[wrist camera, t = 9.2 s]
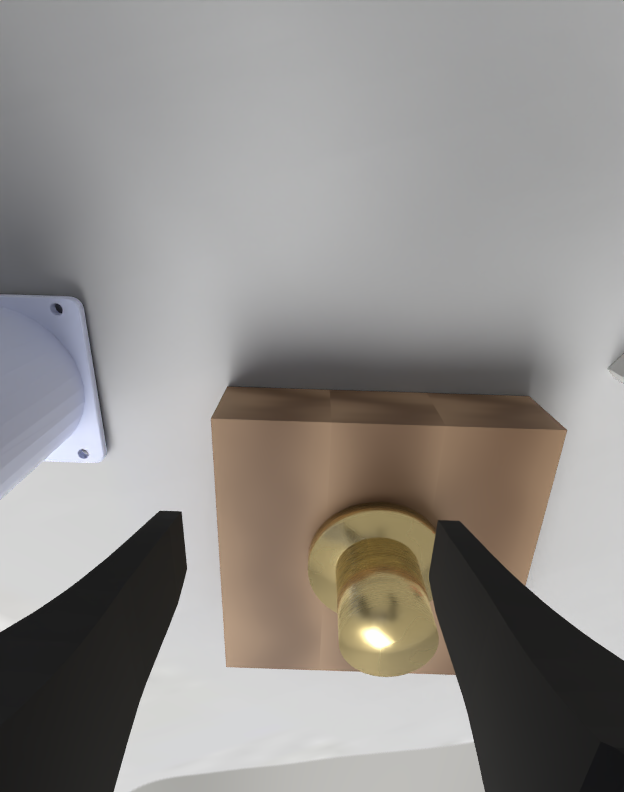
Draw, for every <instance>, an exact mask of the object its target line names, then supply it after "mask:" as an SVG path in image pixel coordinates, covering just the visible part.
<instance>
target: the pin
mask: <svg viewBox="0 0 624 792" xmlns="http://www.w3.org/2000/svg"><path fill="white" fill-rule="evenodd" d="M435 534H436V530H435V528H434V527H433V525H432V524H431V523H430V522H429V521H428V520H427V519H426V518H425V517H423V516H422V515H421V514H419V513H417V512H416V511H414V510H412V509H410V508H407V507H405V506H401V505H398V504H393V503H386V502H369V503H363V504H358V505H354V506H351V507H348V508H346V509H343V510H341V511H340V512H338V513H336V514H334V515H333V516H331V517H330V518H329V519H327V520H326V521H325V522H324V523H323V524H322V525H321V526H320V528H319V529H318V530H317V532H316V533H315V535H314V536H313V539H312V541H311V544H310V547H309V554H308V577H309V581H310V585H311V587H312V589H313V591H314V593H315V594H316V596H317V597H318V598H319V600H320V601H321V602H322V603H323V604H324V605H326V606H327V607H328V608H329V609H331V610H332V611H334V612H336V613H337V614H338V636H339V648H340V652H341V654H342V656H343V657H344V659H345V660H346V661H347V662H348V663H349V664H350V665H351V666H352V667H354V668H355V669H357V670H359V671H361V672H363V673H366V674H369V675H373V676H381V677H392V676H400V675H404V674H407V673H410V672H413V671H415V670H417V669H419V668H421V667H422V666H424V665H425V664H426V663H427V662H428V661H429V660H430V659H431V658H432V657H433V655H434V654H435V652H436V650H437V648H438V644H439V635H438V631H437V627H436V624H435V620H434V617H433V613H432V609H431V606H430V601H431V600H433V598H432V592H431V587H430V582H429V571H430V565H431V559H432V553H433V547H434V540H435Z"/></svg>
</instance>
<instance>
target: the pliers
mask: <svg viewBox="0 0 624 792" xmlns="http://www.w3.org/2000/svg"><path fill="white" fill-rule="evenodd" d="M608 370H609V372H610V373H611V375H612V376H613V378H615V379H616V380H618V381H620V382H622V383H623V384H624V354H623V355H622V356H621V357H619V358H618V359H617V360H616V361H615V362H614V363H613V364H612V365H611V366H610V367H609V368H608Z"/></svg>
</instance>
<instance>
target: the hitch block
mask: <svg viewBox="0 0 624 792" xmlns="http://www.w3.org/2000/svg"><path fill="white" fill-rule="evenodd" d="M211 428H212V444H213V460H214V476H215V493H216V509H217V525H218V541H219V557H220V574H221V590H222V606H223V622H224V639H225V655H226V667H240V668H269V669H299V670H328V671H358V672H361V671H359V670H357V669H355V668H354V667H352V666H351V665H350V664H349V663H348V662H347V661H346V660H345V659H344V657H343V656H342V654H341V652H340V648H339V636H338V614H337V613H336V612H334V611H332V610H331V609H329V608H328V607H327V606H326V605H324V604H323V603H322V602H321V601H320V600H319V598H318V597H317V596H316V594H315V593H314V591H313V589H312V587H311V585H310V581H309V577H308V554H309V547H310V544H311V541H312V539H313V536H314V535H315V533H316V532H317V530H318V529H319V528H320V526H321V525H322V524H323V523H324V522H325V521H326V520H327V519H329V518H330V517H331V516H333V515H334V514H336V513H338V512H340V511H341V510H343V509H346V508H348V507H351V506H354V505H358V504H363V503H369V502H386V503H393V504H398V505H401V506H405V507H407V508H410V509H412V510H414V511H416V512H417V513H419V514H421V515H422V516H423V517H425V518H426V519H427V520H428V521H429V522H430V523H431V524H432V525H433V527H434V528H435V530H436V528H437V522H438V520H453V521H460V522H461V523H462V524H463V525H464V526H465V527H466V528H467V529H468V530H469V531H470V532H471V533H472V534H473V535H474V536H475V537H476V538H477V539H478V540H479V541H480V542H481V543H482V544H483V545H484V546H485V547H486V549H487V550H488V551H489V552H490V553H491V554H492V555H493V556H494V557H495V558H496V559H497V560H498V561H499V562H500V563H501V564H502V565H503V566H504V567H505V568H506V569H507V570H509V571H510V572H511V573H512V574H513V575H514V576H515V577H516V578H517V579H518V580H519V581H520V582H521V583H522V584H523V585H526V581H527V577H528V574H529V570H530V566H531V562H532V559H533V555H534V551H535V548H536V544H537V540H538V537H539V533H540V529H541V525H542V522H543V518H544V514H545V511H546V507H547V503H548V499H549V496H550V492H551V488H552V485H553V481H554V477H555V474H556V470H557V466H558V462H559V459H560V455H561V451H562V448H563V444H564V440H565V436H566V433H567V430H566V429H565V428H564V427H563V426H562V425H561V424H560V423H559V422H557V421H556V420H555V419H554V418H553V417H552V416H551V415H550V414H549V413H547V412H546V411H545V410H544V409H543V408H542V407H541V406H540V405H538V404H537V403H536V402H535V401H534V400H533V399H532V398H531V397H529V396H506V395H475V394H444V393H413V392H382V391H351V390H319V389H288V388H257V387H227V389H226V390H225V392H224V394H223V396H222V398H221V400H220V402H219V404H218V406H217V408H216V410H215V412H214V414H213V416H212V418H211ZM430 606H431V609H432V613H433V617H434V620H435V624H436V627H437V631H438V635H439V644H438V648H437V650H436V652H435V654H434V655H433V657H432V658H431V659H430V660H429V661H428V662H427V663H426V664H425V665H424V666H422V667H421V668H419V669H417V670H415V671H413V672H410V673H416V674H446V675H456V674H455V671H454V668H453V665H452V662H451V659H450V655H449V652H448V649H447V646H446V643H445V640H444V637H443V634H442V631H441V628H440V625H439V622H438V618H437V615H436V612H435V607H434V602H433V600H431V601H430Z"/></svg>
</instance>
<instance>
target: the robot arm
mask: <svg viewBox="0 0 624 792" xmlns="http://www.w3.org/2000/svg"><path fill="white" fill-rule="evenodd" d="M56 303H57V304H59V305H60V306H61V307H62V309H63V312H62V313H59V312H58V311H57V310H56V308H55V304H56ZM82 449H84V450H86V451H87V452H88V454H89V455H87V454H84V453H83V452H82ZM106 455H107V448H106V442H105V436H104V429H103V423H102V417H101V411H100V405H99V399H98V392H97V386H96V380H95V374H94V368H93V362H92V355H91V349H90V343H89V337H88V331H87V325H86V318H85V312H84V307H83V305H82V303H81V302H80V301H79V300H78V299H77V298H75V297H71V296H44V295H12V294H0V500H1V499H2V498H3V497H4V496H5V495H6V494H7V493H8V492H10V491H11V490H12V489H13V488H14V487H15V486H16V485H17V484H18V483H19V482H21V481H22V480H23V479H24V478H25V477H26V476H27V475H28V474H29V473H30V472H32V471H33V470H34V469H35V468H36V467H37V466H38V465H39V464H40V463H41V462H42V461H53V462H84V463H98V462H101V461H102V460H103V459H104V458H105V457H106ZM186 571H187V563H186V553H185V543H184V532H183V522H182V512H179V511H159V512H158V513H157V514H156V515H155V516H154V517H152V518H151V519H150V520H149V521H148V522H147V523H146V524H145V525H144V526H142V527H141V528H140V529H139V530H138V531H137V532H136V533H135V534H134V535H133V536H131V537H130V538H129V539H128V540H127V541H126V542H125V543H124V544H123V545H121V546H120V547H119V548H118V549H117V550H116V551H115V552H113V553H112V554H111V555H110V556H109V557H108V558H106V559H105V560H104V561H103V562H102V563H100V564H99V565H98V566H97V567H95V568H94V569H93V570H92V571H90V572H89V573H88V574H87V575H85V576H84V577H83V578H82V579H80V580H79V581H78V582H77V583H75V584H74V585H73V586H71V587H70V588H69V589H67V590H66V591H64V592H63V593H62V594H60V595H59V596H57V597H56V598H54V599H53V600H51V601H50V602H48V603H47V604H46V605H44V606H43V607H41V608H40V609H38V610H36V611H35V612H33V613H32V614H30V615H28V616H27V617H25V618H23V619H22V620H20V621H18V622H17V623H15V624H13V625H12V626H10V627H8V628H7V629H5V630H3V631H2V632H0V792H114V788H115V785H116V781H117V778H118V774H119V770H120V767H121V763H122V760H123V756H124V753H125V749H126V745H127V742H128V739H129V735H130V732H131V729H132V725H133V722H134V719H135V715H136V712H137V708H138V705H139V702H140V699H141V696H142V693H143V691H144V688H145V685H146V682H147V680H148V677H149V675H150V672H151V670H152V667H153V665H154V662H155V660H156V657H157V655H158V652H159V650H160V647H161V645H162V642H163V640H164V637H165V635H166V632H167V630H168V627H169V625H170V622H171V620H172V617H173V615H174V612H175V610H176V607H177V604H178V601H179V598H180V594H181V590H182V587H183V583H184V579H185V575H186ZM429 582H430V587H431V592H432V598H433V602H434V607H435V612H436V615H437V618H438V622H439V625H440V628H441V631H442V634H443V637H444V640H445V643H446V646H447V649H448V652H449V655H450V659H451V662H452V665H453V668H454V671H455V674H456V677H457V680H458V683H459V686H460V689H461V692H462V695H463V699H464V702H465V706H466V709H467V713H468V717H469V721H470V726H471V730H472V734H473V739H474V743H475V747H476V752H477V756H478V761H479V765H480V770H481V775H482V780H483V784H484V789H485V792H624V661H623V660H622V659H620V658H619V657H617V656H616V655H614V654H613V653H611V652H610V651H608V650H607V649H605V648H604V647H603V646H601V645H600V644H598V643H597V642H595V641H594V640H592V639H591V638H589V637H588V636H587V635H585V634H584V633H582V632H581V631H580V630H578V629H577V628H576V627H574V626H573V625H572V624H571V623H569V622H568V621H567V620H565V619H564V618H563V617H561V616H560V615H559V614H558V613H556V612H555V611H554V610H552V609H551V608H550V607H549V606H548V605H546V604H545V603H544V602H543V601H542V600H541V599H539V598H538V597H537V596H536V595H535V594H534V593H533V592H531V591H530V590H529V589H528V588H527V587H526V586H525V585H523V584H522V583H521V582H520V581H519V580H518V579H517V578H516V577H515V576H514V575H513V574H512V573H511V572H510V571H509V570H507V569H506V568H505V567H504V566H503V565H502V564H501V563H500V562H499V561H498V560H497V559H496V558H495V557H494V556H493V555H492V554H491V553H490V552H489V551H488V550H487V549H486V547H485V546H484V545H483V544H482V543H481V542H480V541H479V540H478V539H477V538H476V537H475V536H474V535H473V534H472V533H471V532H470V531H469V530H468V529H467V528H466V527H465V526H464V525H463V524H462V523H461V522H460V521H453V520H438V522H437V528H436V534H435V540H434V547H433V553H432V559H431V565H430V571H429Z"/></svg>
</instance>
